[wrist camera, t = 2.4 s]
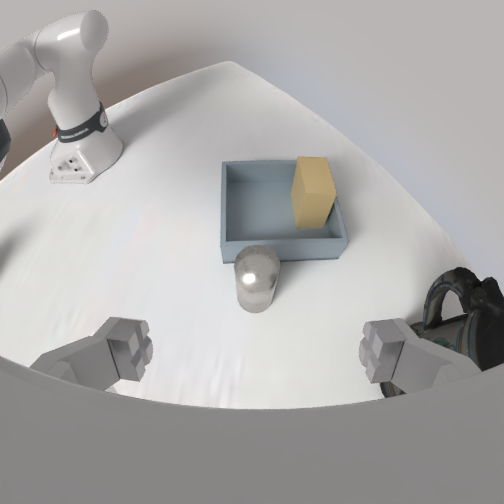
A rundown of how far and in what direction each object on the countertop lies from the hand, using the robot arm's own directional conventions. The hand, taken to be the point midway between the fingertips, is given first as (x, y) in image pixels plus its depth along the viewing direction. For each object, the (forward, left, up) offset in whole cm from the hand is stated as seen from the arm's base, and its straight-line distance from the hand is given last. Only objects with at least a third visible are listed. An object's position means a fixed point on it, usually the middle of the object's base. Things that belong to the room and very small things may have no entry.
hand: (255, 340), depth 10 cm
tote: (+6, +27, -33) cm, 43 cm away
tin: (+1, +12, -33) cm, 35 cm away
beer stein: (+27, -3, -33) cm, 43 cm away
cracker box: (+12, +28, -32) cm, 44 cm away
